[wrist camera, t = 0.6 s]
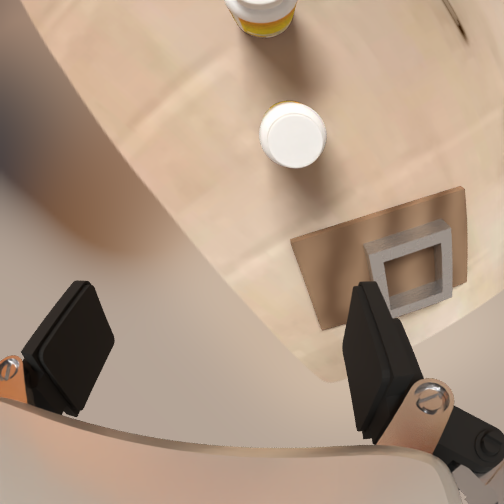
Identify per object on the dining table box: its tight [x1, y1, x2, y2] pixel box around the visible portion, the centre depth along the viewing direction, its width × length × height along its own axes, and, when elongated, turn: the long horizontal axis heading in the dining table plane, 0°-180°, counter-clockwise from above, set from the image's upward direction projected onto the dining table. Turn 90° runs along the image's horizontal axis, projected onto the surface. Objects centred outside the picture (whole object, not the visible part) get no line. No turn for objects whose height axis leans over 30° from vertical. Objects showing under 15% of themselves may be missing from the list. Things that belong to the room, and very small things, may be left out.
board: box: [290, 186, 467, 330], centre depth 35 cm, size 22×14×1 cm, turn 111°
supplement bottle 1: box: [225, 0, 297, 38], centre depth 19 cm, size 6×6×10 cm
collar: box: [363, 218, 453, 318], centre depth 34 cm, size 10×10×2 cm
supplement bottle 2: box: [259, 101, 327, 168], centre depth 25 cm, size 5×5×10 cm
